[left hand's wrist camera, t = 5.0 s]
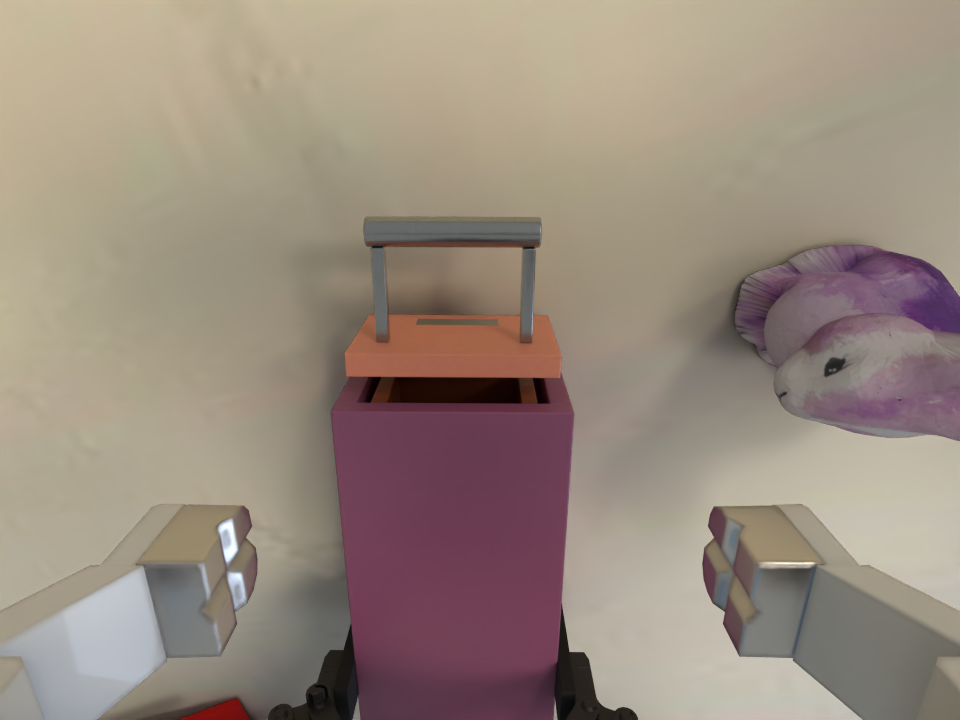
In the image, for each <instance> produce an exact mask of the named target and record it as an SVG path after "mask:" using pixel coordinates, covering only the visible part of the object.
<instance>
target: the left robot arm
mask: <svg viewBox="0 0 960 720" xmlns="http://www.w3.org/2000/svg"><path fill="white" fill-rule="evenodd" d="M251 527H252V524H251V519H250V514H249V510H248V509H247V508H245V507H244V506H233V505H184V504H160V505H157V506H154V507H152V508H151V509H150V510H149V511H148V512H147V513H146V515H145V516H144V517H143V518H142V519H141V520H140V521H139V522H138V524H137V525H136V526H135V527H134V528H133V529H132V530H131V531H130V533H129V534H128V535H127V536H126V537H125V538H124V539H123V540H122V541H121V543H120V544H119V545H118V546H117V547H116V548H115V549H114V550H113V552H112V553H111V554H110V555H109V556H108V557H107V558H106V559H105V561H104V562H103V563H102V564H101V565H91V566H89V567H87V568H85V569H83V570H81V571H79V572H77V573H75V574H73V575H71V576H69V577H67V578H65V579H63V580H61V581H59V582H57V583H55V584H53V585H51V586H49V587H47V588H45V589H43V590H41V591H39V592H37V593H35V594H33V595H31V596H29V597H27V598H25V599H23V600H21V601H19V602H17V603H15V604H13V605H11V606H9V607H7V608H5V609H3V610H1V611H0V720H97V719H99V718H100V717H101V716H102V715H103V714H105V713H106V712H107V711H108V710H109V709H110V708H112V707H113V706H114V705H115V704H116V703H118V702H119V701H120V700H121V699H122V698H123V697H125V696H126V695H127V694H128V693H129V692H131V691H132V690H133V689H134V688H135V687H137V686H138V685H139V684H140V683H141V682H142V681H144V680H145V679H146V678H147V677H148V676H150V675H151V674H152V673H153V672H154V671H155V670H157V669H158V668H159V667H160V666H161V665H163V664H164V663H165V662H166V661H167V658H181V657H216V656H221V655H222V653H223V651H224V649H225V647H226V645H227V643H228V641H229V639H230V637H231V635H232V633H233V631H234V629H235V627H236V625H237V621H236V615H235V612H236V611H237V610H238V609H240V608H241V607H243V606H244V605H245V604H247V603H248V600H249V598H250V596H251V594H252V592H253V590H254V585H255V580H256V576H257V554H256V548H255V547H254V546H253V545H252V544H251V542H250V541H249V540H248V539H247V538H246V536H247V534H248V532H249V531H250V529H251ZM708 527H709V529H710V531H711V532H712V534H713V536H714V538H713V539H712V540H711V541H710V542H709V543H708V544H707V546H706V547H705V548H704V555H703V563H702V565H703V576H704V582H705V585H706V589H707V592H708V594H709V596H710V598H711V601H712V603H713V604H715V605H716V606H717V607H719V608H720V609H722V610H723V611H724V612H725V615H724V621H723V625H724V627H725V629H726V631H727V633H728V635H729V637H730V639H731V641H732V643H733V645H734V647H735V648H736V650H737V652H738V654H739V656H743V657H778V658H793V661H794V662H795V663H797V664H798V665H799V666H800V667H801V668H802V669H804V670H805V671H806V672H807V673H808V674H810V675H811V676H812V677H813V678H814V679H815V680H817V681H818V682H819V683H820V684H821V685H823V686H824V687H825V688H826V689H827V690H828V691H830V692H831V693H832V694H833V695H834V696H836V697H837V698H838V699H839V700H840V701H841V702H843V703H844V704H845V705H846V706H847V707H849V708H850V709H851V710H852V711H853V712H854V713H856V714H857V715H858V716H859V717H860V718H862V719H863V720H960V611H958V610H956V609H954V608H952V607H951V606H949V605H947V604H945V603H943V602H941V601H939V600H937V599H935V598H933V597H931V596H929V595H927V594H925V593H923V592H921V591H919V590H917V589H915V588H913V587H911V586H909V585H907V584H905V583H903V582H901V581H899V580H897V579H895V578H893V577H891V576H889V575H887V574H885V573H883V572H881V571H879V570H877V569H875V568H873V567H871V566H869V565H859V564H858V563H857V562H856V561H855V559H854V558H853V557H852V556H851V555H850V554H849V553H848V552H847V551H846V549H845V548H844V547H843V546H842V545H841V544H840V543H839V542H838V540H837V539H836V538H835V537H834V536H833V535H832V534H831V533H830V531H829V530H828V529H827V528H826V527H825V526H824V525H823V524H822V522H821V521H820V520H819V519H818V518H817V517H816V516H815V515H814V513H813V512H812V511H811V510H810V509H809V508H808V507H806V506H804V505H802V504H787V505H772V506H714V508H713V510H712V512H711V514H710V518H709V524H708Z"/></svg>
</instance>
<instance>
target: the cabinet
mask: <svg viewBox="0 0 960 720" xmlns="http://www.w3.org/2000/svg"><path fill="white" fill-rule="evenodd" d="M380 380H381V377H349V379H348V381H347V383H346V385H345V386H344V388H343V390H342V392H341V394H340V395H339V397H338V399H337V401H336V403H335V405H334V407H333V409H332V410H331V420H332V431H333V441H334V451H335V462H336V472H337V482H338V492H339V503H340V513H341V523H342V533H343V544H344V554H345V564H346V575H347V585H348V595H349V605H350V616H351V626H352V636H353V647H354V657H355V667H356V677H357V687H358V698H359V708H360V718H361V720H554V705H555V688H556V673H557V661H558V646H559V632H560V617H561V602H562V588H563V573H564V558H565V543H566V529H567V514H568V499H569V485H570V470H571V455H572V441H573V426H574V411H573V408H572V405H571V402H570V399H569V396H568V393H567V389H566V386H565V383H564V380H563V377H562V374H560V378H533V382H534V387H535V392H536V398H537V403H538V404H496V403H371V401H372V398H373V396H374V394H375V391H376V389H377V387H378V384H379V382H380Z"/></svg>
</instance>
